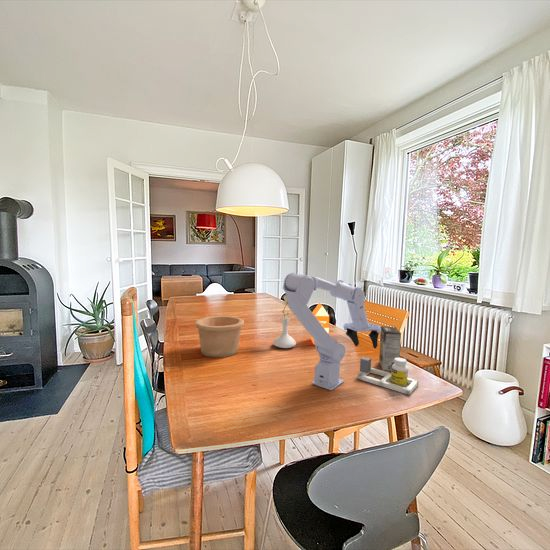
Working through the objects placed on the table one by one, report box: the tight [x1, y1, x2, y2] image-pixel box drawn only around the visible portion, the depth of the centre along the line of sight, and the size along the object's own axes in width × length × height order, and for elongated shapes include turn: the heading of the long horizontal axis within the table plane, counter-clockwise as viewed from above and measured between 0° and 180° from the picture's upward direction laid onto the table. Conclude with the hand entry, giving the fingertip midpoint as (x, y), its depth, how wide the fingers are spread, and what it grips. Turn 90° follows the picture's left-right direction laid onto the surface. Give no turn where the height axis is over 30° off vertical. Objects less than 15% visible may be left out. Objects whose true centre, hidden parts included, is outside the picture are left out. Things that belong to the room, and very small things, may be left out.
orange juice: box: [310, 302, 330, 345], centre depth 157 cm, size 8×9×20 cm
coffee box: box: [378, 325, 402, 372], centre depth 126 cm, size 9×6×16 cm
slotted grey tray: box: [357, 356, 420, 396], centre depth 112 cm, size 10×20×6 cm, turn 50°
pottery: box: [194, 315, 245, 359], centre depth 140 cm, size 22×22×14 cm
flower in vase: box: [272, 294, 297, 349], centre depth 149 cm, size 13×11×25 cm
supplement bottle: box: [390, 357, 409, 388], centre depth 109 cm, size 5×5×10 cm
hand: (366, 345), depth 119 cm, fingers open, 7 cm apart
